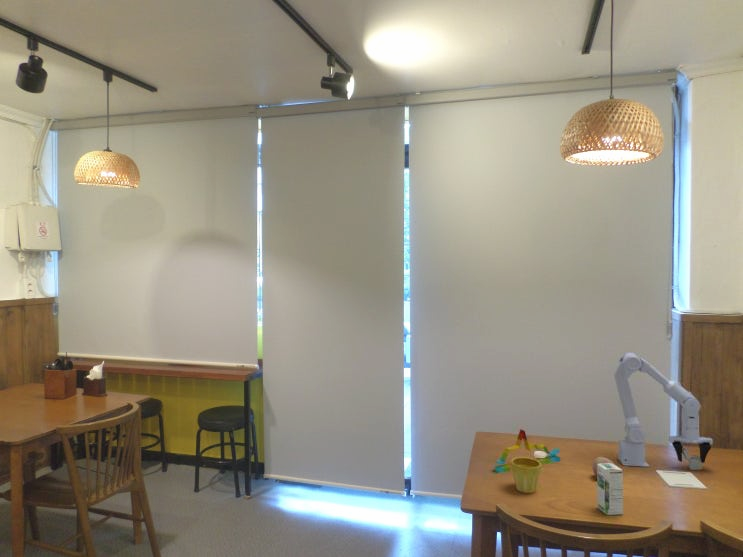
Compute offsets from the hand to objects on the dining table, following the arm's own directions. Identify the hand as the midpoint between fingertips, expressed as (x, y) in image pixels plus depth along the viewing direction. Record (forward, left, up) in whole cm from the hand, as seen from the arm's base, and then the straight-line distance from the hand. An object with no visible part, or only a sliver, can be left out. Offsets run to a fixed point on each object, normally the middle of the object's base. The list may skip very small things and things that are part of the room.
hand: (691, 461), depth 191 cm
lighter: (0, 0, -3) cm, 3 cm away
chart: (-62, -7, -4) cm, 62 cm away
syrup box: (-39, -42, -3) cm, 57 cm away
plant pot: (-64, -30, -3) cm, 71 cm away
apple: (-35, -16, -3) cm, 39 cm away
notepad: (-8, -12, -3) cm, 15 cm away
